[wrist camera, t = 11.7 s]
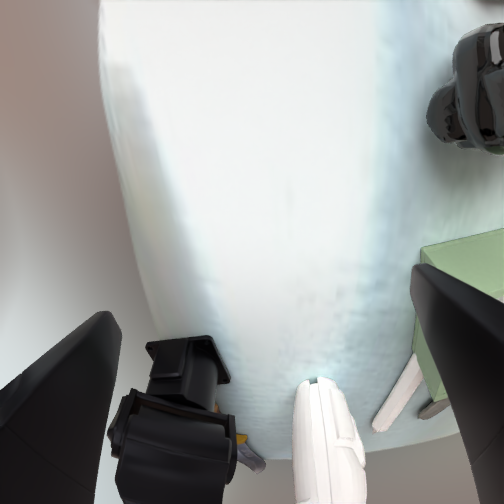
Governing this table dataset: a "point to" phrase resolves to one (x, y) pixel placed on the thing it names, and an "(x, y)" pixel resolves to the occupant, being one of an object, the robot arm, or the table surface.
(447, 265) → the bin
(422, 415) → the stone
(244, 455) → the knife
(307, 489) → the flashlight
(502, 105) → the cat figurine
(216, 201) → the table surface
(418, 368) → the marker
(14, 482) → the robot arm
